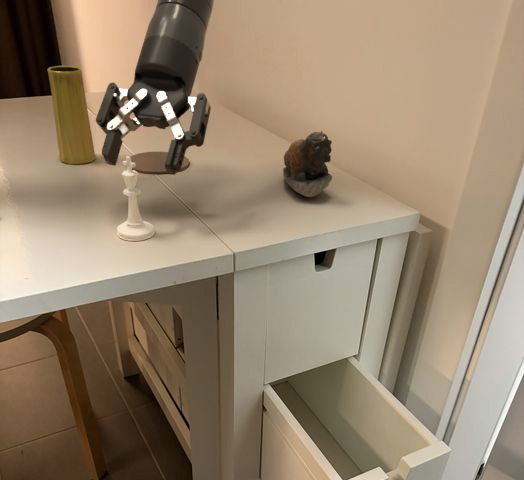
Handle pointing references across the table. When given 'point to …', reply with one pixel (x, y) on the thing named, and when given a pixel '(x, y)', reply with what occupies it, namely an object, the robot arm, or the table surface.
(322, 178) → the bison figurine
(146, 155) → the coaster
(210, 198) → the table surface
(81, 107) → the vase
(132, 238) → the chess piece
